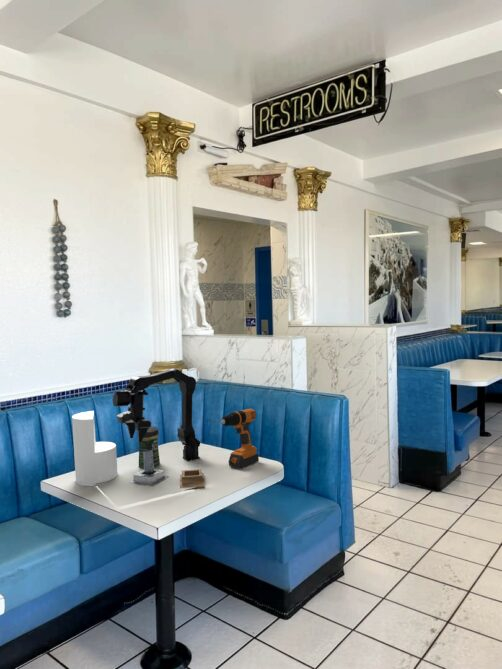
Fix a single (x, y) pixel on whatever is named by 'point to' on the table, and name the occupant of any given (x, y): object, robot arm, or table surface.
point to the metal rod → (148, 462)
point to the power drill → (242, 438)
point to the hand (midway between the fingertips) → (135, 440)
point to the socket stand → (149, 477)
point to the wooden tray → (192, 479)
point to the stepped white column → (91, 452)
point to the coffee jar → (149, 446)
